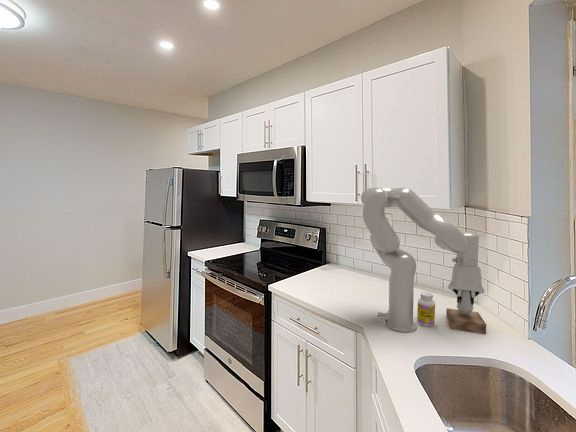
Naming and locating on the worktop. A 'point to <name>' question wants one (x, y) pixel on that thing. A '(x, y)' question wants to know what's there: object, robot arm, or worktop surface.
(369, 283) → the worktop surface
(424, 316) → the supplement bottle
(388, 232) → the robot arm
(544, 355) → the worktop surface
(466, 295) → the salt shaker
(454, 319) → the walnut riser block
